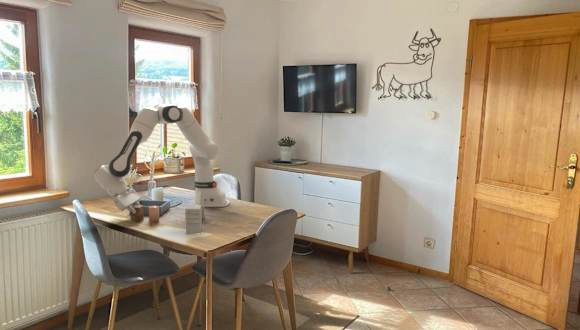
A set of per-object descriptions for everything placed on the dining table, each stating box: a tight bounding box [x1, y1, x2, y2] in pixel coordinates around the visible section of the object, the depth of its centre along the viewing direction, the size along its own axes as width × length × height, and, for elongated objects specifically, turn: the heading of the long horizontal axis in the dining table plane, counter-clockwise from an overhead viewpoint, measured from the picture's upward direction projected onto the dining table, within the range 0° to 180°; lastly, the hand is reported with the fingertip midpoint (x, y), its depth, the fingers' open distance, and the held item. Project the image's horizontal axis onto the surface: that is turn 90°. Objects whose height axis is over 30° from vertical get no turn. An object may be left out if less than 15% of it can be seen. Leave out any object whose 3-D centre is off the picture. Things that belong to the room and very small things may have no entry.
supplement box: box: [184, 204, 203, 234], centre depth 218 cm, size 7×7×13 cm
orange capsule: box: [148, 206, 160, 224], centre depth 232 cm, size 5×5×8 cm
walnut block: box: [129, 205, 145, 223], centre depth 233 cm, size 5×5×8 cm
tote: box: [129, 199, 171, 217], centre depth 251 cm, size 18×14×5 cm
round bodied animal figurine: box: [195, 204, 206, 220], centre depth 237 cm, size 7×12×8 cm, turn 138°
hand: (138, 210), depth 233 cm, fingers closed on walnut block, 5 cm apart
